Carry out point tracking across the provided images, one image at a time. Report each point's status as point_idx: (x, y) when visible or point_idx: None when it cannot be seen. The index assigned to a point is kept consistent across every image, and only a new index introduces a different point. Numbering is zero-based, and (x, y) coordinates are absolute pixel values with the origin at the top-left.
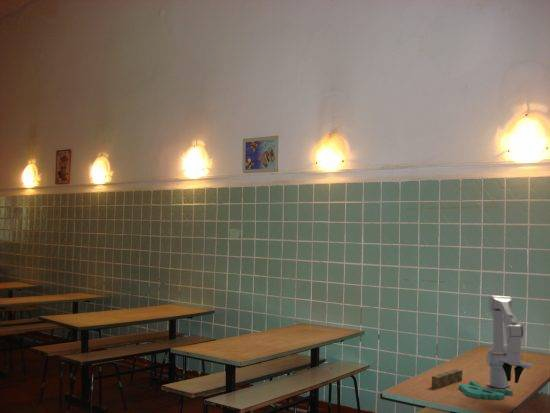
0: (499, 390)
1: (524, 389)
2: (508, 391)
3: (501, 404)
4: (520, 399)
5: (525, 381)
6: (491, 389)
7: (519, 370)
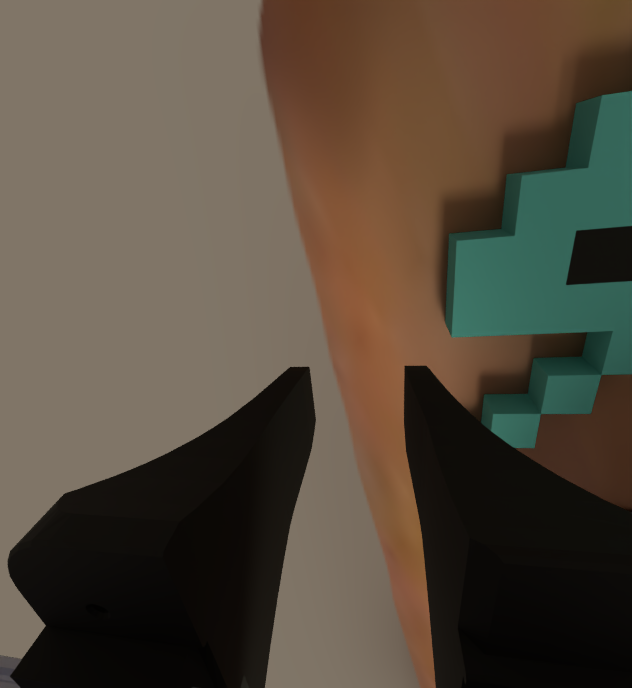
0: (536, 410)
1: None
2: None
3: (370, 74)
4: (341, 385)
5: None
6: (611, 366)
7: (62, 503)
